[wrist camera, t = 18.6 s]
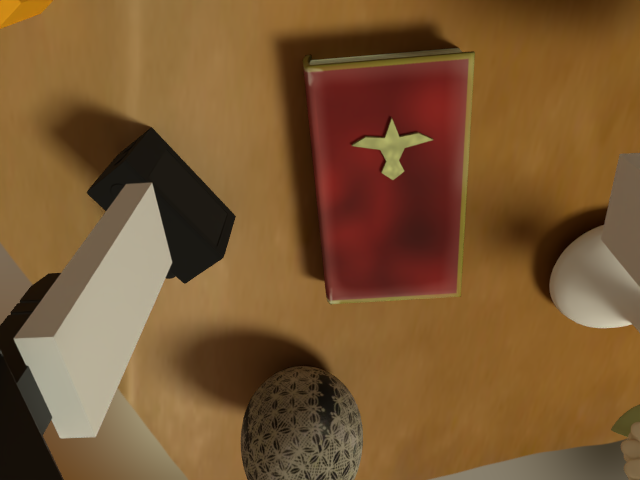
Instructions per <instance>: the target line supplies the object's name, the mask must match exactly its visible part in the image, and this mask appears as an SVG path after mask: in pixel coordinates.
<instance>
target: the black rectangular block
mask: <svg viewBox="0 0 640 480" xmlns="http://www.w3.org/2000/svg"><path fill="white" fill-rule="evenodd" d="M145 133H146V134H145ZM145 133H144V134H143V135H142V136H140V137H139V138H138V139H137V140H136V141H134V142H133V143H132V144H131V145H129V146H128V147H127V148H126V149H125V150H123V151H122V152H121V153H120V154H119V155H117V157H116V158H115V159H114V160H113V161H112V162H111V163H110V165H109V166H108V167H107V168H106V169H105V171H104V172H103V173H102V174H101V175H100V176H99V178H98V179H97V180H96V181H95V182H94V184H93V185H92V186H91V187H90V189H89V190H88V191H87V194H88V195H89V196H90V197H91V198H92V199H94V200H95V201H96V202H97V203H98V204H99V205H100V206H101V207H102V208H103V209H104V210H105V211H107V210H108V208H109V207H110V205H111V204H112V203H113V201H114V200H115V199H116V197H117V196H118V194H119V193H120V192H121V190H122V189H123V188H124V186H125V185H126V184H136V183H152V184H153V188H154V192H155V196H156V200H157V204H158V208H159V212H160V216H161V220H162V224H163V228H164V232H165V236H166V240H167V244H168V248H169V252H170V256H171V260H172V264H171V266H170V269H169V271H168V273H167V276H166V278H167V279H170V278H174V277H175V276H176V277H177V278H178V279H180V280H181V281H182V282H183V283H187V282H188V281H190V280H191V279H193V278H194V277H196V276H197V275H199V274H200V273H202V272H203V271H205V270H206V269H208V268H209V267H211V266H212V265H213V264H215V263H216V262H218V261H220V260H221V259H222V258H223V257H224V254H225V251H226V248H227V244H228V241H229V237H230V234H231V231H232V227H233V224H234V220H235V217H236V216H235V215H234V214H233V213H232V212H231V211H230V210H229V209H228V207H227V206H226V205H225V204H224V203H223V202H222V201H221V200H220V199H219V198H218V197H217V196H216V195H215V194H214V193H213V192H212V191H211V189H210V188H209V187H208V186H207V185H206V184H205V183H204V182H203V181H202V180H201V179H200V178H199V177H198V176H197V175H196V174H195V173H194V171H193V170H192V169H191V168H190V167H189V166H188V165H187V164H186V163H185V162H184V161H183V160H182V159H181V158H180V157H179V156H178V155H177V154H176V152H175V151H174V150H173V149H172V148H171V147H170V146H169V145H168V144H167V143H166V142H165V141H164V140H163V139H162V138H161V137H160V136H159V134H158V133H157V132H156V131H155V130H154V129H153V128H152V127H151V128H150V129H149V130H148V131H147V132H145ZM141 138H142V139H141ZM123 152H124V153H123ZM122 153H123V154H122Z"/></svg>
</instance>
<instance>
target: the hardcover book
mask: <svg viewBox="0 0 640 480" xmlns="http://www.w3.org/2000/svg"><path fill="white" fill-rule="evenodd" d="M474 57H475V52H474V51H472V52H462V51H461V50H460V49H459V48H450V49H438V50H427V51H415V52H403V53H391V54H379V55H367V56H356V57H344V58H332V59H320V60H312V59H311V55H306V56H305V57H304V59H303V68H304V78H305V88H306V98H307V108H308V118H309V128H310V139H311V149H312V159H313V169H314V179H315V189H316V199H317V209H318V219H319V229H320V239H321V249H322V259H323V269H324V279H325V289H326V297H327V301H328V302H329V303H330V304H342V303H359V302H376V301H393V300H410V299H427V298H444V297H461V283H462V266H463V248H464V231H465V214H466V196H467V179H468V162H469V144H470V127H471V109H472V92H473V75H474Z"/></svg>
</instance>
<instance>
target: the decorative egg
mask: <svg viewBox="0 0 640 480" xmlns="http://www.w3.org/2000/svg"><path fill="white" fill-rule="evenodd" d="M362 446H363V429H362V422H361V417H360V413H359V410H358V407H357V404H356V402H355V400H354V398H353V396H352V395H351V393H350V392H349V390H348V389H347V387H346V386H345V385H344V384H343V383H342V382H341V381H340V380H339V379H338V378H336V377H335V376H333V375H332V374H330V373H328V372H326V371H324V370H322V369H319V368H315V367H308V366H297V367H291V368H287V369H284V370H282V371H280V372H278V373H276V374H274V375H273V376H271V377H270V378H268V379H267V380H266V381H265V382H264V383H263V384H262V385H261V386H260V387H259V388H258V389H257V391H256V392H255V393H254V395H253V397H252V398H251V400H250V402H249V404H248V406H247V409H246V412H245V415H244V418H243V424H242V431H241V454H242V460H243V466H244V470H245V473H246V476H247V479H248V480H354V479H355V476H356V474H357V471H358V468H359V464H360V460H361V454H362Z"/></svg>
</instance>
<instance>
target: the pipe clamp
mask: <svg viewBox="0 0 640 480" xmlns="http://www.w3.org/2000/svg"><path fill="white" fill-rule="evenodd" d="M52 1H53V0H0V29H1V28H3V27H6V26H9V25H12V24H14V23H17V22H20V21H22V20H25V19H28V18H30V17H33V16H36V15H38V14H41V13H42V12H43V11H44V10H45V9H46V8H47V7H48V5H49V4H50V3H51V2H52Z"/></svg>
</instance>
